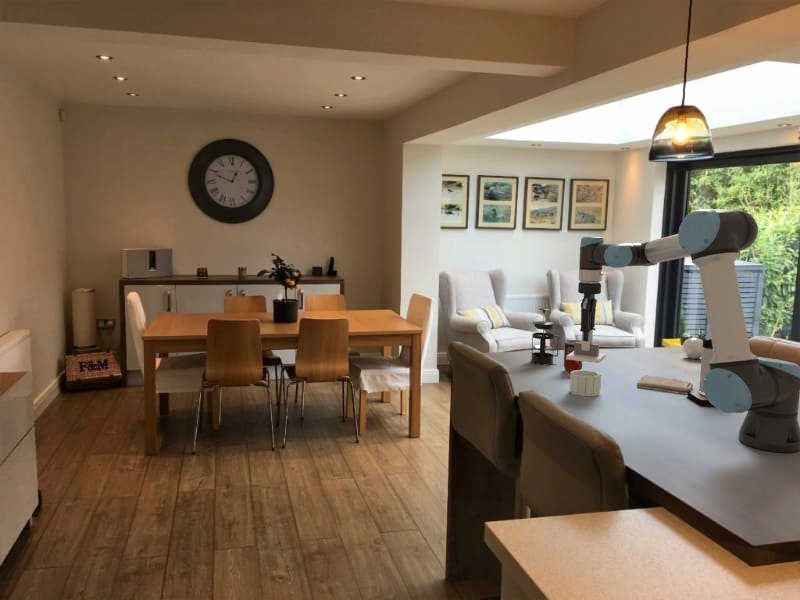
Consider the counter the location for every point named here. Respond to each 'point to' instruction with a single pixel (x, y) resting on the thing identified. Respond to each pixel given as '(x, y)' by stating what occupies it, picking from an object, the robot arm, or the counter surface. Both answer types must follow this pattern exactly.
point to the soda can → (571, 364)
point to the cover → (586, 353)
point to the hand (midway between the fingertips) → (586, 349)
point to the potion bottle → (693, 348)
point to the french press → (543, 342)
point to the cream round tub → (585, 383)
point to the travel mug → (705, 360)
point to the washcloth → (665, 384)
